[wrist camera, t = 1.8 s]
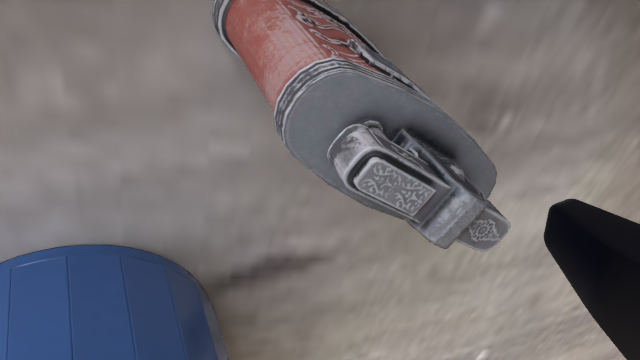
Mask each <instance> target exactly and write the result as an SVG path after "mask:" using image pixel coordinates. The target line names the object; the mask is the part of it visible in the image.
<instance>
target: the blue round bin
mask: <svg viewBox="0 0 640 360" xmlns="http://www.w3.org/2000/svg"><path fill="white" fill-rule="evenodd" d="M0 360H229V358H228V354H227V351H226V348H225V344H224V341H223V338H222V334H221V331H220V328H219V325H218V321H217V318H216V315H215V311H214V308H213V306H212V305H211V303H210V300H209V298H208V296H207V294H206V292H205V290H204V288H203V287H202V286H201V284H200V283H199V282H198V281H197V280H196V279H195V278H194V277H193V276H192V275H191V274H190V273H189V272H188V271H186V270H185V269H183V268H182V267H180V266H179V265H177V264H176V263H174V262H172V261H170V260H167V259H165V258H163V257H161V256H158V255H155V254H152V253H149V252H146V251H142V250H137V249H132V248H127V247H119V246H109V245H80V246H68V247H59V248H54V249H48V250H42V251H38V252H34V253H30V254H26V255H23V256H19V257H16V258H13V259H10V260H8V261H5V262H2V263H0Z"/></svg>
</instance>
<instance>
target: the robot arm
mask: <svg viewBox="0 0 640 360" xmlns="http://www.w3.org/2000/svg"><path fill="white" fill-rule="evenodd" d="M544 241H545V244H546V246H547V248H548V250H549V252H550V253H551V255H552V256H553V258H554V259H555V261H556V262H557V264H558V265H559V267H560V269H561V270H562V272H563V273H564V275H565V276H566V278H567V279H568V281H569V282H570V284H571V285H572V287H573V288H574V290H575V292H576V293H577V295H578V296H579V298H580V299H581V301H582V302H583V304H584V305H585V307H586V308H587V310H588V311H589V313H590V314H591V315H592V317H593V318H594V319H595V321H596V322H597V323H598V325H599V326H600V327H601V328H602V330H603V331H604V332H605V333H606V334H607V336H608V337H609V338H610V339H611V341H612V342H613V343H614V344H615V346H616V347H617V348H618V349H619V351H620V352H621V353H622V354H623V355H624V357H625V358H626V359H627V360H640V224H638V223H635V222H633V221H630V220H628V219H625V218H623V217H620V216H618V215H615V214H612V213H610V212H607V211H605V210H602V209H600V208H597V207H595V206H592V205H589V204H587V203H584V202H582V201H579V200H576V199H567V200H564V201H562V202H559V203H556V204H554V205H552V206H551V207H550V209H549V212H548V217H547V222H546V227H545V232H544Z"/></svg>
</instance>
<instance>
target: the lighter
mask: <svg viewBox="0 0 640 360" xmlns="http://www.w3.org/2000/svg"><path fill="white" fill-rule="evenodd" d="M213 20H214V24H215V28H216V29H217V31H218V33H219V34H220V36H221V38H222V39H223V41H224V42H225V44H226V45H227V46H228V47H229V48H230V49H231V50H232V51H233V52H234V53H235V54H236V55H238V56H239V57H240V58H241V59H242V61H243V62H244V64H245V66H246V67H247V69H248V70H249V72H250V74H251V75H252V77H253V79H254V80H255V82H256V83H257V85H258V87H259V88H260V90H261V92H262V93H263V95H264V96H265V98H266V100H267V101H268V103H269V105H270V106H271V108H272V109H273V111H274V121H275V127H276V131H277V132H278V134H279V136H280V137H281V139H282V141H283V143H284V144H285V146H286V147H287V149H288V150H289V151H290V153H291V154H292V156H294V157H295V158H296V159H297V160H299V161H300V162H301V163H302V164H304V165H305V166H306V167H307V168H308V169H310V170H311V171H312V172H313V173H315V174H316V175H317V176H318V177H320V178H321V179H322V180H323V181H324V182H326V183H327V184H328V185H330V186H332V187H333V188H335V189H337V190H339V191H340V192H342V193H344V194H345V195H347V196H349V197H351V198H352V199H354V200H356V201H357V202H359V203H361V204H363V205H364V206H367V207H369V208H372V209H375V210H378V211H380V212H383V213H386V214H389V215H391V216H394V217H397V218H400V219H403V220H406V221H407V223H408V224H409V225H410V226H412V227H413V228H415V229H416V230H417V231H418V232H419V233H420V234H421V235H423V236H424V237H425V238H426V239H427V240H429V241H430V242H431V243H433V244H434V245H437V246H439V247H441V248H443V249H447V248H448V247H449V246H450V245H451V244H452V243H453V242H454V241H457V242H459V243H462V244H464V245H466V246H468V247H470V248H472V249H474V250H476V251H480V252H485V251H488V250H490V249H492V248H493V247H494V246H495V245H497V244H498V243H499V242H500V241H501V240H502V239H503V238H504V236H505V235H506V234H507V233H508V231H509V229H510V222H509V221H508V220H507V219H506V218H505V217H504V216H503V215H502V214H501V213H500V212H499V211H498V210H497V209H496V208H495V207H494V206H493V205H492V204H491V202H490V201H489V200H487V198H488V197H489V195H490V194H491V192H492V190H493V188H494V185H495V183H496V176H497V172H496V169H495V166H494V165H493V163H492V162H491V161H490V159H489V158H488V157H487V156H486V154H485V153H484V152H483V150H482V149H481V148H480V147H479V145H478V144H477V143H476V141H475V140H474V139H473V138H472V137H471V136H470V135H469V134H468V133H467V132H466V131H465V130H464V129H462V128H461V127H460V126H459V125H458V124H457V123H456V122H455V121H454V120H452V119H451V118H450V117H449V116H448V115H447V114H446V113H445V112H443V111H442V110H441V109H440V108H439V107H438V106H437V104H436V103H435V102H433V101H432V100H431V99H430V98H429V97H428V96H427V95H426V94H425V93H424V92H423V91H422V90H421V89H420V88H419V87H418V86H417V85H416V84H414V83H413V82H412V81H411V80H410V79H409V78H408V77H407V76H405V75H404V74H403V73H402V72H401V71H400V70H399V69H398V68H396V67H395V66H394V65H393V64H392V63H391V62H390V61H389V60H387V59H385V57H384V56H383V55H382V54H381V53H380V51H379V50H378V49H377V48H376V47H375V45H374V44H373V43H372V42H371V41H370V40H368V39H367V38H366V37H365V36H364V35H363V34H362V33H361V32H360V31H359V30H358V29H356V28H355V27H354V26H353V25H352V24H351V23H350V22H349V21H347V20H346V19H345V18H344V17H343V16H342V15H341V14H340V13H339V12H337V11H336V10H334V9H333V8H331V7H330V6H328V5H326V4H325V3H323V2H322V1H320V0H215V2H214V9H213Z"/></svg>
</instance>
